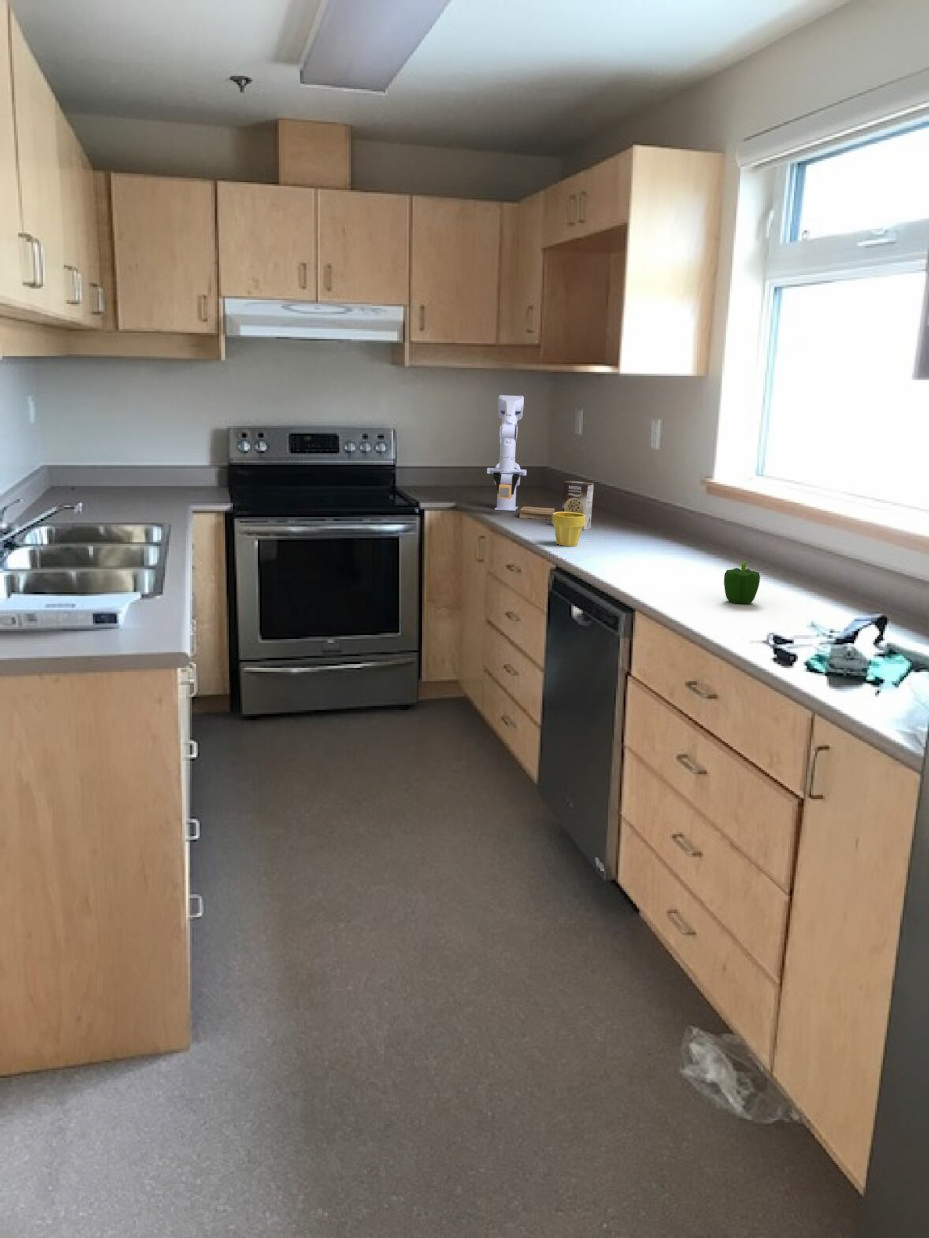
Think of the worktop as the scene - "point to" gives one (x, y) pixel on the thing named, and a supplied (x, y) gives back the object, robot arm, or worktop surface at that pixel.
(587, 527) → the brown cookie box
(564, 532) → the plant pot
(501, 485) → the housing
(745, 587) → the bell pepper
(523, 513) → the stand
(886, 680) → the worktop surface
